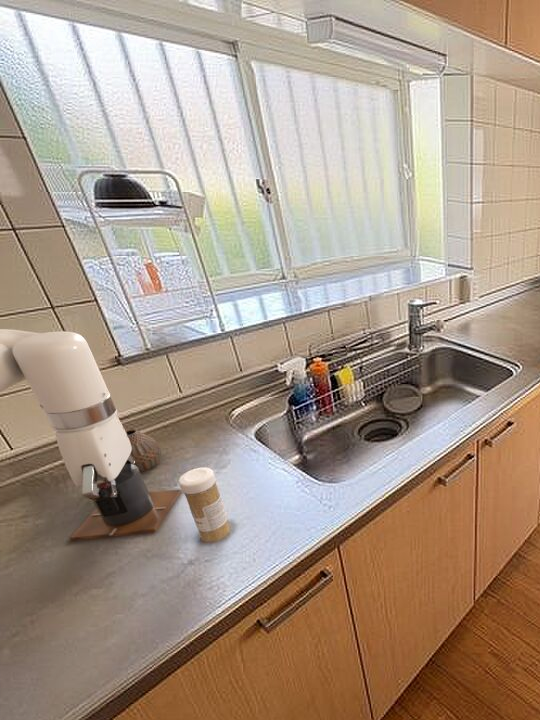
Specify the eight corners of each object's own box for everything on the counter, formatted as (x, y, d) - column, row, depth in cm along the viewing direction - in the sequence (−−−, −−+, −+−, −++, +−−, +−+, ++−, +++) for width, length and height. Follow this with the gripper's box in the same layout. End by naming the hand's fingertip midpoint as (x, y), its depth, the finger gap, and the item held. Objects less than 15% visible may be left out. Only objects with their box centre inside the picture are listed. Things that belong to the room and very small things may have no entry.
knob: (113, 502, 76) (95, 466, 72) (159, 495, 78) (143, 459, 75) (96, 530, 70) (75, 492, 67) (145, 520, 73) (128, 483, 69)
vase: (158, 453, 91) (144, 419, 87) (170, 466, 88) (157, 431, 84) (117, 468, 86) (101, 433, 82) (129, 483, 83) (112, 446, 79)
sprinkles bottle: (197, 538, 72) (172, 477, 66) (225, 522, 75) (204, 462, 69) (209, 551, 70) (185, 489, 64) (238, 534, 73) (218, 473, 67)
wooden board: (70, 546, 69) (66, 539, 68) (111, 500, 78) (107, 493, 78) (155, 537, 72) (152, 530, 71) (184, 493, 81) (182, 486, 80)
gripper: (74, 389, 70) (114, 473, 79) (19, 447, 57) (74, 541, 65) (131, 383, 73) (164, 464, 82) (91, 436, 59) (135, 528, 68)
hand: (124, 498), depth 73 cm, fingers closed on knob, 6 cm apart
